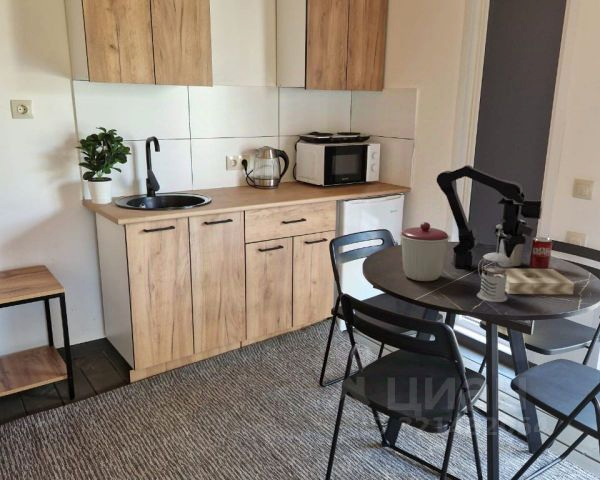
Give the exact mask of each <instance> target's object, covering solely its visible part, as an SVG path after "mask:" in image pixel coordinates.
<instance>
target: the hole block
mask: <svg viewBox="0 0 600 480" xmlns="http://www.w3.org/2000/svg"><path fill="white" fill-rule="evenodd" d="M504 269H505V270H506V272H505V273H506V274H507V279H506V285H505V293H507V294H509V295H510V294H512V295H515V294H516V295H573V294H574V288H575V282H573V281H572V280H570V279H569V278H567V277H566V276H565V275H562V274H561V273H559V272H558V271H557V270H555V269H554V268H549V269H531V268H504ZM494 276H501V277H504V276H503V275H501V274H495V275H494Z"/></svg>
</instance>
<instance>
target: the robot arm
mask: <svg viewBox="0 0 600 480" xmlns="http://www.w3.org/2000/svg"><path fill="white" fill-rule="evenodd" d="M464 177H465V178H469V179H471V180H473V181H475V182H478V183H480V184H483V185H484V186H487V187H488V188H489V187H490V188H491V189H494V190H496V191H497V192H498V193H499V194H500V195H501V196H503V197H502V198H501V199H500V200H499V201H498V202H497V204H498V205H503V206H502V214H501V215H502V217H500V219H499V220H500V221H501V224H500V225H502V229H499V228H496V226H497V225H498V224H497V225H494V226H492V230H491V233H492V234H496V235H495V238H496V241H498V245H499V247H500V240H501V239H506V240H503V244H504V249H505V253H506V256H507V257H508V258H510V256H511V254H512V252H513V250H514V248H515V246H516V245H518V244H523V245H526V244H527V238H526V237H525V235H526V236H527V237H531V235H532V234H533V232H534V228H533V227H531V226H530V225H527V222H526V221H525V220H523V221H520V220H521V219H519V218H520V215H521V216H522V218H523V219H531V220H540V219H541V218H542V211H543V208H542V206H543V205H542V202H543V200H539V199H538V200H533V199H528V198H527V197H526V195H525V193H524V192H523V186H522V185H521V183H519V182H517V181H513V180H509V179H501V178H498V177H496V176H494V175H492V174H489V173H486V172H485V171H483V170H480V169H478V168H475V167H473V166H471V165H469V164H467V165H464V166H462V167H460V168H457V169H455V170H453V171H451V170H445V171H443V172H440V173H439V174H437V176H436V183H437V185H438V187H439V188H440V190H441V191H442V192H443V194H444V195H445V197H446V200H447V202H448V205H449V207H450V210H451V213H452V215H453V219H454V221H455V224H456V227H457V231H458V232H457V233H458V241H459V242H458V243H457V244H456V245H455V246H453V248H452V249H453V256H452V262H451V265H452V266H453V267H454V269H473V258H474V256H473V253H472V251H471V250H472V249H474V247H476V246H477V245H478V243H479V237H480V235H479V234H478V232H477V228H476V227H471V226H470V224H469V221H468V219H467V216H466V213H465V211H464V207H463V205H462V203H461V202H462V201H461V200H460V196H459V193H458V191H457V190H458V187H457V185H458V184H457V180H459V179H462V178H464ZM524 221H525V222H524ZM498 232H499V239H498ZM520 232H521V233H523V234H524V236H523V235H521V234H520Z"/></svg>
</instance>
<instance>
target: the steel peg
mask: <svg viewBox="0 0 600 480" xmlns="http://www.w3.org/2000/svg"><path fill="white" fill-rule="evenodd" d="M503 240H506V239H501V240H500V246H499V252H498V253H501V254H503V255H505V256H506V253H505V249H504V244H503ZM513 257H514V250H513V252H512V254H511V256H510V258H509V260H508V261H507V262H497V264H498V265H499V267H501V268H508V267H509V268H510V267H511V268H512V267H514V266H513Z"/></svg>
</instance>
